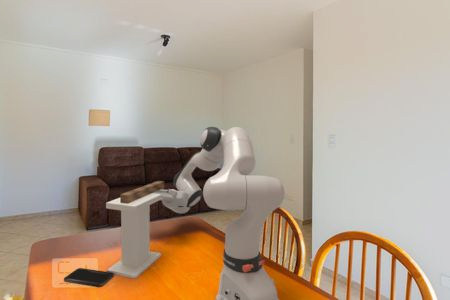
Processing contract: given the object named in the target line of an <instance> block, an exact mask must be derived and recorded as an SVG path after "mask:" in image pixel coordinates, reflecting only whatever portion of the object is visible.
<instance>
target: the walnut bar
mask: <svg viewBox="0 0 450 300" xmlns="http://www.w3.org/2000/svg"><path fill="white" fill-rule="evenodd" d="M161 189H162V190H164V189H165V181H163V180H157V181H153V182H152V183H148V184H146V185H144V186H140V187H137V188H134V189H132V190H129V191H126V192H124V193H121V194H120V196H119V198H120V203H127V204H128V203H130V202H133V201H135V200H137V199H140V198H142V197H144V196H147V195H149V194H151V193H154V192H156V191H158V190H161Z"/></svg>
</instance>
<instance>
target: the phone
mask: <svg viewBox="0 0 450 300" xmlns="http://www.w3.org/2000/svg"><path fill="white" fill-rule="evenodd" d="M114 276H115V274H114V273H111V272H107V271H103V270H96V269H90V268H83V267H79V268H76V269H75V270H73V271H72V272H70V273H69V274H67V275H65V277H64V278H63V282H64V283H71V284H77V285H83V286H88V287H89V286H90V287H95V288H102V287H104V286H105V285H106V284H107V283H108V282H109V281H111V279H113V278H114Z"/></svg>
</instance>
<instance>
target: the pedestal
mask: <svg viewBox="0 0 450 300" xmlns="http://www.w3.org/2000/svg"><path fill="white" fill-rule="evenodd" d="M161 199H162V194H155V193H151V194H149V195H147V196H144V197H142V198H140V199H137V200H135V201H133V202H130V203H128V204H127V203H120V197H118V198H115V199H112V200H110V201H107V202H106V203H105V209H108V210H109V209H110V210H114V211H115V210H116V211H120V219H121V221H120V224H121V225H120V227H121V228H120V229H121V231H120V232H121V235H120V236H121V241H120V243H121V245H120V247H121V251H120V253H121V258H120V259H121V260H120V259H119V261H117V262H116V263H114V264H113V265H112V266H110V267H109V268H108V269H106V272H111V273H114V275H116V276H121V277H126V278H129V279H133V280H134V279H137V278H138V277H139V276H140V275H142V273H144V272H145V271H146V270H148V268H149V267H151V266H152V264H154V263H155V262H156V261H157V260H158V259H159V258H160V257H162V253H160V252H155V251H150V241H151V240H150V235H151V234H150V218H151V217H150V213H151V211H150V210H151V209H150V208H151V207H150V205H153V204H154V203H157V202H158V201H162V200H161Z"/></svg>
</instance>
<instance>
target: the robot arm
mask: <svg viewBox="0 0 450 300" xmlns="http://www.w3.org/2000/svg"><path fill="white" fill-rule="evenodd" d="M200 146H201V148H202V149H201V150H200V151H197V152H194V154H192V155H191V156H190V158H188V160H187V161H186V163H185V164H184V165H183V166H182V168H181V169H180V171H178V172H177V174H175V175H174V177H173V179H172V180H173V181H172V184H173V186H174V187H175V188H176V189H177V190H176V189H173V188H172V189H171V188H169V189H168V188H167V189H161V190H158V191H156V192H154V193H155V194H162V199H161V200H160V201H161V203H162V205H163V206H165V208H168V209H169V210H171V211H173V212H175V213H176V214H186V213H188V211H190V209H191V208H192V207H194V206H196V205H198V203H199V202H200V201H201V200H202V198H203V199H204V203H206V205H207V206H208V207H209V208H211V209H216V210H220V211H243V213H242V214H241V215H240V216H238V217H237V218H235V219H233V220H231V221H230V222H229V223H228V225H227V226H226V227H225V235H224V236H225V238H224V249H223V253H222V259H223V261H222V263H223V267H222V269H221V271H220V272H221V273H220V276H219V283H218V284H219V285H218V293H217V294H216V296H215V299H214V300H280V299H279V297H278V290H277V287H276V285H275V280H274V279H273V278H272V277H270V276H269V275H268V272H267V271H266V269H265V268H264V264H266V263H265V259H262V254H261V252H260V243H261V241H260V240H261V233H262V229H263V227H264V223H265V222H266V221H267V219H268V217H269V216H270V215H271V214H272V213H273V212H274V211H275V210H276V209H278V208H279V207H281V205H282V204H283V202H284V200H285V195H286V194H285V188H284V185H283V183H282V182H281V181H280V179H279V178H277V177H272V176H269V175H262V174H261V175H256V174H255V175H253V174H252V175H250V174H251V173H252V172H253V171H254V169H255V167H256V158H255V157H256V156H255V152H254V147H253V143H252V139H251V138H250V136H249V134H248V131H246V130H245V128H243V127H241V126H233V127H230V128H228V129H227V130H226V129H222V128H218V127H216V126H209V127H206V128H204V130H203V132H202V133H201V135H200ZM222 162H223V165H222V167H221V169H220V170H219V171H218V172H217V173H216V174H215V175H213V176H210V177H209V178H208V179H207V180H206V181H205V184H204V185H203V190H202V189H201V188H200V187H201V186H199V184H198V183H197V182H196V181H195V179H194V177H193V176H192V173H193V172H194V170H195V169H196V168H199V169H200V170H202V171H206V172H212V171H216V170H217V169H218V168H219V167H220V166H221V164H222Z"/></svg>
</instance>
